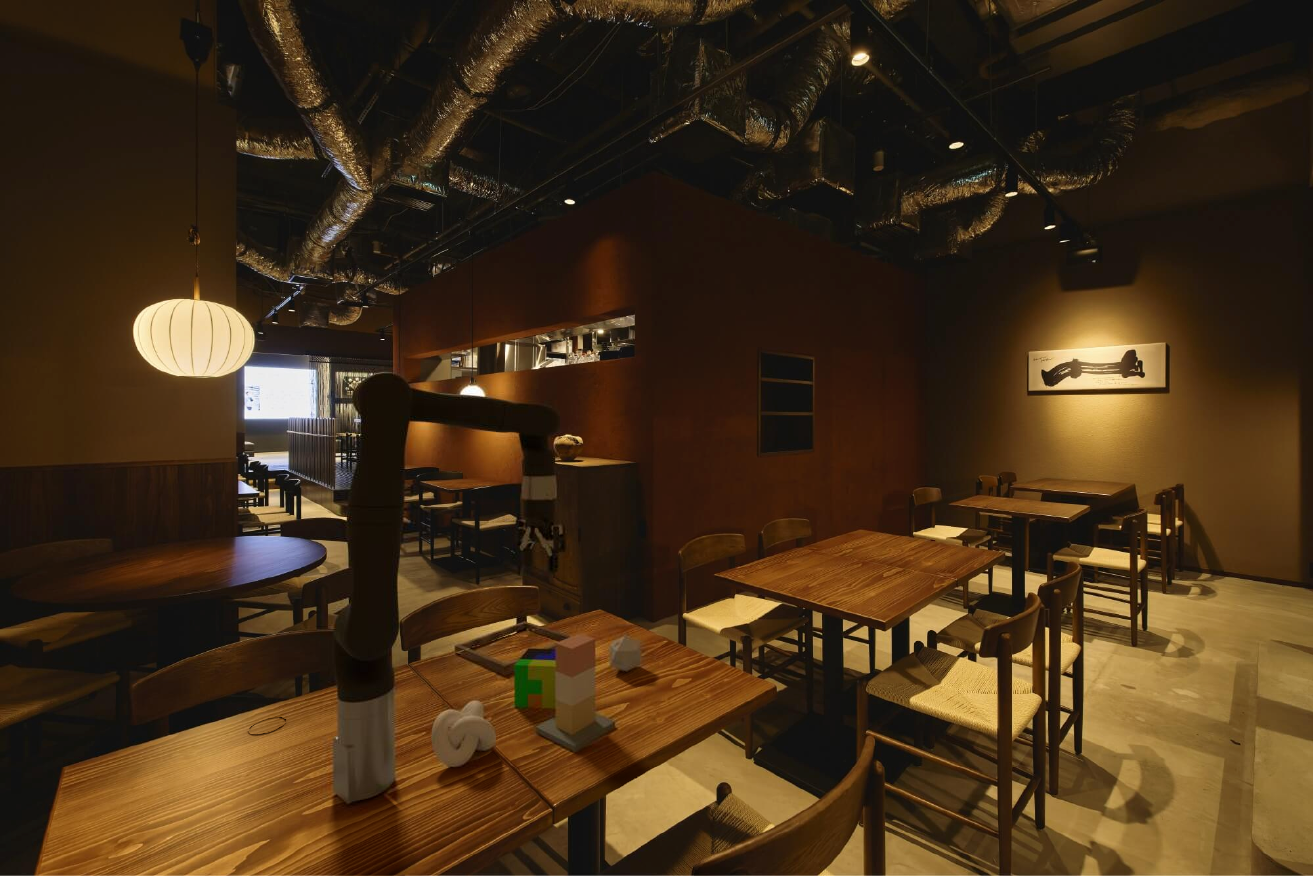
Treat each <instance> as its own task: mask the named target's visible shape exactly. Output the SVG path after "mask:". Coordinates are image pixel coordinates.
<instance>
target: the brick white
mask: <svg viewBox="0 0 1313 876" xmlns="http://www.w3.org/2000/svg"><path fill="white" fill-rule="evenodd" d="M555 677H556V700H559V701H561V702H563V703H565V704H568V705H570V706H573V705H575V704H577V703H579V702H581V701H582V700H584V699H586V698H588V697H590V696H592V695H594V694H595V695H596V666H595V667H593V668H590V669H588V670H586V671H584V672H582V673H580V674H578V675H576V676H574V677H569V676H567V675H564V674H562V673H559V672H556V671H555Z"/></svg>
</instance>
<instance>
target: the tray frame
mask: <svg viewBox="0 0 1313 876" xmlns="http://www.w3.org/2000/svg"><path fill="white" fill-rule="evenodd" d="M538 627H541V628H539V629H537V628H538ZM532 629H535V630H534V631H531V632H532V633H535V632H536V633H535V634H538V635H541V636H543V635H544V637H546V638H549V637H550V638H549V639H553V640H556V641H557V642H560V641H562V640H565V639H567V638H570V637H572V635H569V634H566V633H564V632H563V633H562V632H559V631H556V630H553V629H551V628H547V627H543V626H540V625H539V624H538V625H537V624H535V623H531V622H528V621H522V622H519V623H516V624H514V625H511V626H507V627H504V628H502V629H499V630H496V631H493V632H490V633H487V634H483V635H482V636H478V637H475V638H472V639H470V640H467V641H464V642H462V643H458V644H455V645H454V653H455V652H457V651H461V650H464V651H462V652H460V653H461V654H460V655H459V657H460V656H461V657H462V658H464V659H467V660H468V661H469V660H470V661H472V662H474V663H476V664H478V665H480V666H483V667H484V668H487V669H489V670H491V671H493V672H495V673H498V674H500V675H502V676H507V675H510V674H513V673H514V665H515V664H516V662H517V661H518V660H519V659H520V658H521V657H519V658H515V659H513V660H511V661H509V662H503V661H500V660H498V659H496V658H493V657H491V656H488V655H486V654H483V653H480V652H479V651H476V650H473V649H468V650H465V649H467V648H471V647H473V646H477V645H480V646H482V644H483V645H485V644H487V643H490V642H494V641H496V640H498V639H500V638H503V637H507V636H509V635H512V634H515V633H517V632H519V631H523V630H526V631H530V630H532ZM557 642H555V643H552V644H551V645H547V646H546V647H543V648H542V649H556V643H557ZM484 643H485V644H484ZM477 647H478V646H477ZM458 654H459V653H457V654H456V655H458Z"/></svg>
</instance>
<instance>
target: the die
mask: <svg viewBox="0 0 1313 876" xmlns="http://www.w3.org/2000/svg"><path fill="white" fill-rule="evenodd" d="M642 664H643V657H642V643H641V642H640V641H638V640H637V639H634V638H632V637H629V636H628V635H626V634H625V635H624V636H622V637H620V638H618V639H616V640H615V641H614V642H611V643H610V644H609V666H610V667H614V668H615V669H618V670H619V671H622V672H624V671H625V672H626V673H627V672H629V671H631V670H634V668H636V667H638V666H640V665H642Z"/></svg>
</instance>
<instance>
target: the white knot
mask: <svg viewBox="0 0 1313 876" xmlns="http://www.w3.org/2000/svg"><path fill="white" fill-rule="evenodd" d="M484 712H485V709H484V706H483V703H482V702H481V701H479V700H472V701H469V702H467V704H466V705H465V706H464V707H463V708H462V709H461V711H459V710H455V709H451V708H450V709H447V710H445V711H442V712H441V713H439V714H438V716H436V719H435V720H434V722H433V725H432V727H431V744H432V748H433V752H434V753H435V755H436V757H437V759H438V760H439V761H440V762H441V763H442V764H444V765H445V766H448V767H452V768H453V767H454V768H456V767H461V766H463V765H465V764H466V763H467V762H468V761H470V759H471V758H472V757H473V754H474V753H475V751H476V750H478V751H488V750H490V749H492V748H493V746H494V744H495V743H496V740H497V733H496V731H495V729H494V726H493V725H492V724H491V723H490V722H489V721H488V720H486V719H485V718H484V715H485V713H484ZM449 727H450V729H449Z"/></svg>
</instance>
